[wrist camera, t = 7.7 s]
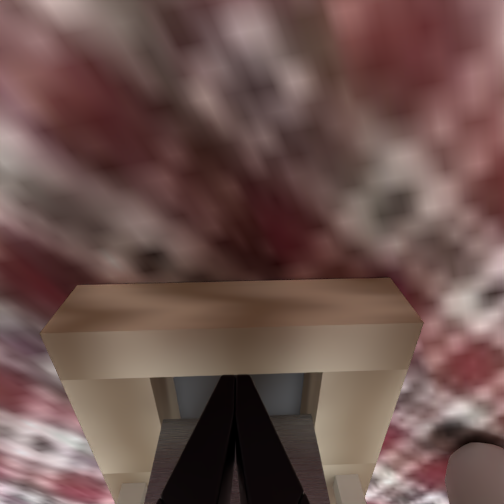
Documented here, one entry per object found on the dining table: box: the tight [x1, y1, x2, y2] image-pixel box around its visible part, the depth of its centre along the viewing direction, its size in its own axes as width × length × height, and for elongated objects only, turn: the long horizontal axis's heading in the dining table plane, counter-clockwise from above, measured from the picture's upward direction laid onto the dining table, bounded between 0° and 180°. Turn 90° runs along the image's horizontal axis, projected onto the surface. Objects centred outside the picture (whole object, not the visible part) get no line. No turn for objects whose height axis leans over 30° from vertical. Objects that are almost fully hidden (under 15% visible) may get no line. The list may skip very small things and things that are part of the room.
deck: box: [40, 278, 424, 504], centre depth 20 cm, size 14×29×3 cm, turn 0°
